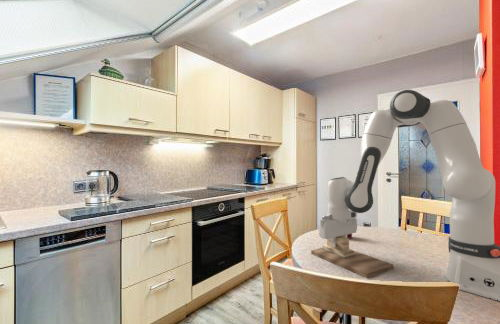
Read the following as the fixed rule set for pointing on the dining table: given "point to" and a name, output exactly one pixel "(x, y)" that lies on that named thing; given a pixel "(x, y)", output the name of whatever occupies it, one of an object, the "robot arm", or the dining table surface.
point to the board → (356, 262)
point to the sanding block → (339, 247)
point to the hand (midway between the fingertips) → (338, 245)
